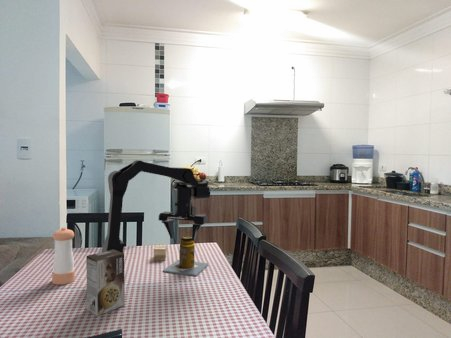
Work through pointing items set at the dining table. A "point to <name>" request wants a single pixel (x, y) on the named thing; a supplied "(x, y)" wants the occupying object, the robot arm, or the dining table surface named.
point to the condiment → (186, 254)
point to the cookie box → (105, 281)
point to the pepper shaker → (63, 257)
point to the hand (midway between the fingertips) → (182, 239)
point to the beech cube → (160, 252)
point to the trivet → (191, 272)
